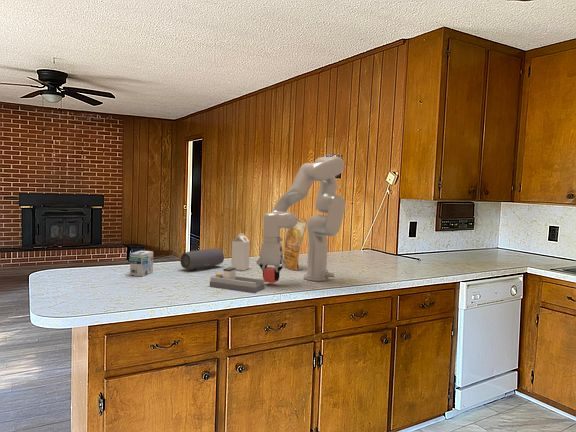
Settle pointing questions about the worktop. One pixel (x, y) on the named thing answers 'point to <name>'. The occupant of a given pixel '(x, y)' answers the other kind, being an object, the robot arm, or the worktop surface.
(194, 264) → the bluetooth speaker
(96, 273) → the worktop surface
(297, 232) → the pancake mix bag
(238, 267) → the milk carton
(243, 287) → the gray rectangular tray
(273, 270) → the block
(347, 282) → the worktop surface
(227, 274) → the breaker lever
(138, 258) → the light bulb box
